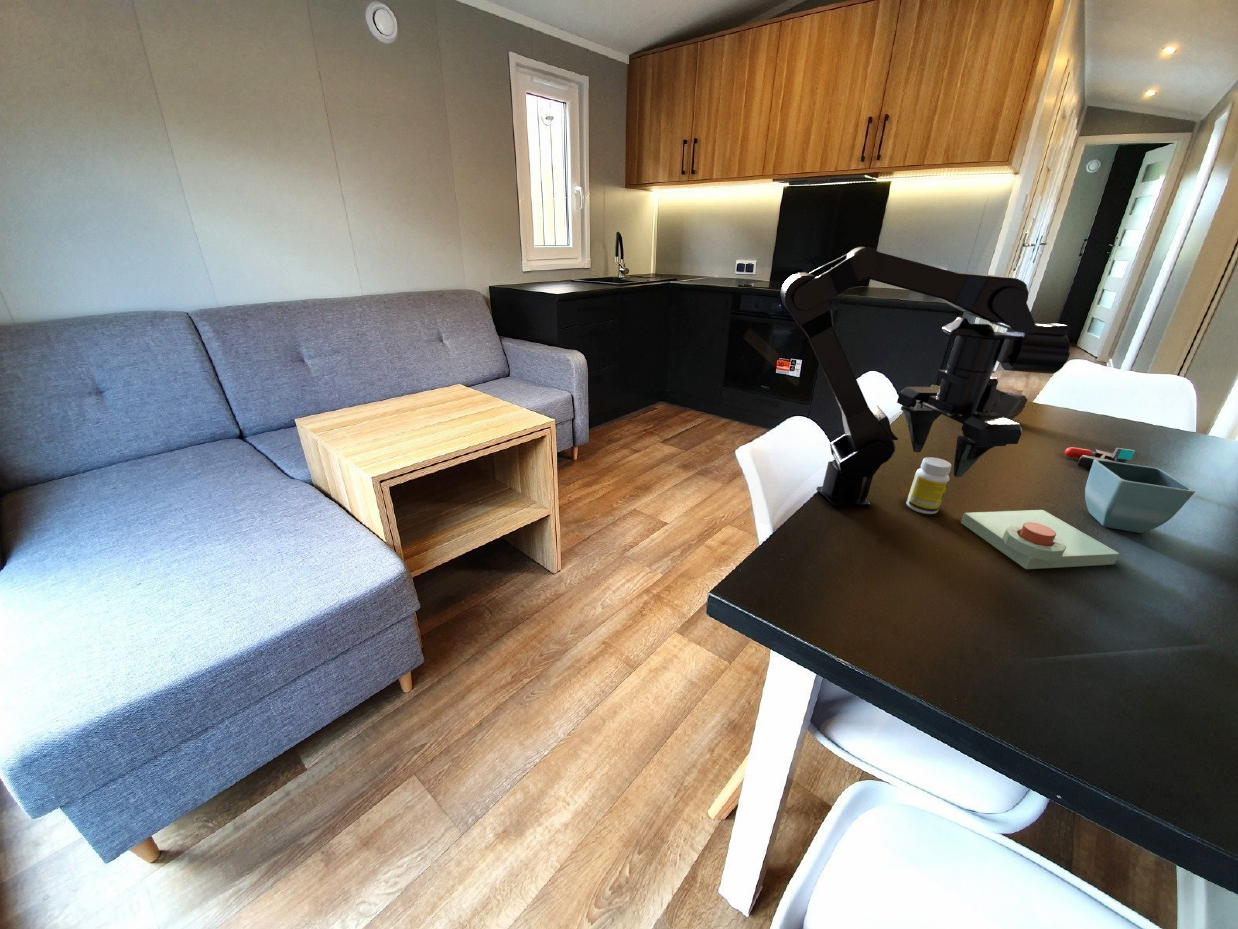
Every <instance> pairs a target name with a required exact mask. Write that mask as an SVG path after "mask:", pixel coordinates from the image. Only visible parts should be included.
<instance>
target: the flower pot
mask: <svg viewBox="0 0 1238 929" xmlns="http://www.w3.org/2000/svg"><path fill="white" fill-rule="evenodd" d="M1195 493H1196V490H1194V489H1193V488H1191V487H1190V486H1188V485H1187V484H1185V483H1183V482H1182V481H1180V480H1178V479H1177V478H1175V477H1174V476H1172V475H1171V474H1168V472H1166V471H1164V470H1163V469H1161V468H1159V467H1152V466H1147V465H1146V466H1145V465H1139V464H1131V463H1127V462H1126V463H1119V462H1112V461H1105V460H1097V459H1095V460H1094V461H1093V464H1092V467H1091V469H1090V470H1089V474H1088V478H1087V480H1086V483H1085V488H1084V499H1085V504H1086V507H1087V508H1086V509H1087V511H1088V513H1089V514H1090V515H1091V516H1092V517H1093V518H1094V519H1095V520H1096V521H1097V522H1098V523H1099V524H1100V525H1101V526H1102V527H1104V528H1108V529H1115V530H1120V531H1126V532H1131V533H1137V534H1143V533H1146V532H1149V531H1152V530H1155V529H1156V528H1158V527H1159V528H1160V526H1161V527H1162V526H1163V525H1164V524H1166V523H1167V522H1168V521H1170V520H1171V519H1172V518H1173V517H1174V516H1176V514H1177V513H1178V512H1179V511H1180V510H1181V509H1182V508H1183V507H1184V505H1185V504H1186V503H1187V502H1188V501H1189V500H1190V498H1192V496H1193V495H1194V494H1195Z"/></svg>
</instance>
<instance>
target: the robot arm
mask: <svg viewBox="0 0 1238 929" xmlns="http://www.w3.org/2000/svg"><path fill="white" fill-rule="evenodd" d="M865 279H867V280H871V281H875V282H878V283H882V284H885V285H890V286H893V287H897V288H899V289H904V290H907V291H912V292H915V293H919V294H922V295H926V296H930V297H933V298H937V299H939V301H942V302H944V303H946V304H948V305H949V306H951V307H953V308H955V309H957V310H959V311H961V312H964V313H965V314H967V315H969V316H972V317H975V318H978V319H980V320H984V321H987V322H988V323H990V324H988V323H976V322H975V323H974V322H969V320H968V318H966V317H964V316H958V317H956V319H955V320H953V321H951V322H950V323H948V324H946V325H944V326H942V327H941V332H944V333H946V334H948V335H949V336H950V335H951V336H954V337H955V336H956V337H955V339H954V342H953V346H952V349H951V352H950V354H949V358H948V360H947V364H946V366H945V369H938V370H937V373H936V377H937V378H939V379H941V382H940V385H939V388H938V389H936V388H934V387H931V386H905V387H904V388H903V389H902V390H900V391H899V394H898V397H897V401H896V403H897V404H899V405H900V411H902V413H903V415H904V419H905V422H906V425H907V429H908V433H909V438H910V441H911V442H910V443H911V447H912V450H913V452H914V453H921V452H922V450H923V448H924V446H925V444H926V442H927V439H928V436H929V434H930V432H931V429H932V427H933V424H934V422H935V421H936V420H937V419H938V418H939V417H940V416H942V415H943V416H945V417H947V418H949V419H951V420H953V421H955V422H957V423H960V424H962V425H961V432H962V435H957V436H956V445H955V454H954V460H953V476H954V477H955V478H961V477H963V476H964V475H965V474H966V472H967V471H968V470H970V468H971V467H973V465H975V463H976V462H977V461H978V460H979V459H980V458H981V457H983V455H985V454H986V453H987V452H988V451H990V450H992V449H994V448H996V447H1006V446H1007V445H1018V444H1019V441H1020V440H1021V437H1022V434H1023V431H1024V430H1023V428H1022V426H1021V424H1020V423H1018V422H1016V421H1013V420H1011V419H1007V418H1008V416H1009V415H1010V414H1011V412H1012V411H1013V410H1014V408H1015V407H1016V406H1017V404H1018V403H1019V402H1020V400H1019V399H1017V398H1015V397H1013V396H1011V395H1009V394H1007V393H1004V392H1005V391H1003V392H1002V390H1001V389H997V387H998V385H999V378H997V377H995V376H992V375H993V372H994V371H995V370H994V369H995V367H996V365H997V363H999V364H1000V365H1001V368H1002V369H1003V370H1004V371H1009V372H1021V373H1034V374H1045V375H1046V374H1047V375H1053V374H1056V373H1059V371H1060V370H1062V369H1063V367H1064V366H1065V365H1066V364H1067V361H1068V360H1069V358H1070V356H1071V352H1070V346H1071V344H1070V342H1071V341H1070V338H1069V336H1068V334H1069V330H1070V326H1069V325H1067V324H1061V323H1056V322H1055V323H1035V320H1034V318H1033V315H1032V313H1031V310H1030V308H1029V305H1028V301H1029V290H1028V284H1026V282H1025V281H1023V280H1021V279H1019V278H1017V277H1016V278H1015V277H1009V276H1004V275H1003V276H1002V275H996V274H986V273H985V274H983V273H972V272H971V273H970V272H957V271H952V270H947V269H944V268H940V267H937V266H934V265H929V264H926V263H921V262H918V261H914V260H910V259H907V258H903V257H901V256H900V257H899V256H896V255H892V254H889V253H885V252H880V251H878V250H877V249H875V248H873V247H869V246H868V247H866V246H857V247H855V248H853V249H851V250H850V251H849V252H848V253H845V254H843V255H842V256H841V257H838V258H836V259H834V260H832V261H830V262H827V263H826V264H823V265H822V266H819V267H818V268H816V269H814V270H812V271H810V272H809V273H808V272H805V271H803V272H797V273H795V274H792V275H790V276H789V277H788V278H787V279H786V280H785V281H784V283H783V284H782V287H781V289H780V299H781V303H782V304H783V306H784V308H785V309H786V310H787V311H788V313H789V314H790V316H791V317H792V318H793V320H794V321H795V322H796V323H797V325H798V326H799V328H800V329H801V331H802V332H803V333H804V335H805V336H806V338H807V339H808V342H809V344H810V346H811V348H812V350H813V353H814V355H815V357H816V359H817V361H818V364H819V365H820V368H821V370H822V372H823V374H824V376H825V379H826V381H827V383H828V385H829V387H830V389H831V392H832V393H833V396H834V398H835V400H836V402H837V404H838V406H839V409H840V412H841V416H842V425H843V430H844V433H843V434H842V435H841V436H840V437H837V438H836V439H835V440H833V441H831V442H830V443H829V448H830V453H831V455H832V457H833V460H832V461H831V460H829V461H827V466H826V471H825V474H824V478H823V482H822V486H816V488H815V489H816V491H817V492H818V493H819V494H820V495H821V496H822V497H823V498H824V499H825V500H826V501H827V502H828V503H829V504H830V505H831V506H832V507H834V508H854V507H870V505H871V502H870V501H869V500H868V499H867V498H868V496H869V492H870V488H871V485H872V483H873V482H872V481H873V479H874V475H875V474H876V473H877V472H878V470H879V469H880V467H881V466H882V465H884V464H886V463H887V462H888V461H890V459H892V457H893V455H894V453H896V443H895V441H898V440H899V438H898V437H897V435H896V434H895V433H894V432H893V431H892V427H891V423H890V419H889V417H888V415H886V413H885V412H884V411H883V410H882V409H881V408H880V406H879V405H875V406H873V407H872V408H870V407H869V405H868V403H867V401H866V398H865V396H864V393H863V391H862V389H861V387H860V384H859V382H858V380H857V378H856V376H855V373H854V371H853V369H852V366H851V364H850V361H849V360H848V357H847V355H846V353H845V351H844V348H843V345H842V343H841V342H840V340H839V336H838V335H837V333H836V330H835V326H834V320H833V319H834V318H833V311H832V305H831V301H830V300H831V299H833V298H835V297H837V296H839V295H840V294H842V293H844V292H845V291H847V290H848V289H849V288H851V287H853V286H854V285H856V284H857V283H859V282H861V281H862V280H865ZM992 325H994V326H998V327H1000V328H1004V329H1006V331H995V330H994V328H993V326H992ZM977 412H981V413H990V412H995V413H998V414H1000V415H1001V416H1002V417H1001V416H980V415H976V414H977Z"/></svg>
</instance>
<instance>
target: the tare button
mask: <svg viewBox="0 0 1238 929" xmlns="http://www.w3.org/2000/svg"><path fill="white" fill-rule="evenodd" d="M1019 536H1020V537H1022V538H1023V539H1025V540H1026V541H1029V542H1031V543H1034V544H1037V545H1042V546H1050V545H1051V544H1052V542H1053V540H1054V538H1055V536H1056V532H1055V531H1054V530H1052V529H1051V528H1049V527H1047V526H1045V525H1042V524H1038V523H1033V522H1026V523H1024V524H1023V526H1022V529H1021V531H1020V533H1019Z"/></svg>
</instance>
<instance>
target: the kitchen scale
mask: <svg viewBox="0 0 1238 929" xmlns="http://www.w3.org/2000/svg"><path fill="white" fill-rule="evenodd" d="M1026 522H1033V523H1038V524H1042V525H1045V526H1047V527H1049V528H1051V529H1052V530H1054V531H1055V532H1056V536H1055V538H1054V540H1053V542H1052V544H1051V545H1050V546H1042V545H1037V544H1034V543H1031V542H1029V541H1026V540H1025V539H1023V538H1022V537H1020V536H1019V533H1020V531H1021V529H1022V526H1023V524H1024V523H1026ZM960 523H961V524H962V525H963V526H965V527H966V528H967V529H969V530H970V531H972V532H973V533H975V534H976V535H977V536H979V537H980V538H981V539H983V540H984V541H985V542H987V543H988V544H990V545H991V546H993V547H994V548H995V549H996V550H998V551H1000V552H1001V553H1002V554H1004V555H1005V556H1007V557H1008V558H1009V559H1011V560H1012V561H1014V562H1015V563H1016V564H1017V565H1019V566H1020V567H1022V568H1024V569H1025V570H1036V569H1039V570H1040V569H1053V568H1074V567H1091V566H1106V565H1108V566H1109V565H1111V566H1112V565H1115V564H1116V562H1117V560H1118V558H1119V556H1120V555H1121V554H1120V552H1118V551H1116V550H1114V549H1113V548H1111V547H1110V546H1107V545H1106V544H1104V543H1102V542H1100V541H1098V540H1097V539H1095V538H1093V537H1092V536H1090V535H1088V534H1086V533H1084V532H1083V531H1081V530H1079V529H1078V528H1075V527H1074V526H1072V525H1071V524H1068V523H1067V522H1065V521H1063V520H1062V519H1060V518H1058V517H1056V516H1055V515H1053V514H1051V513H1050V512H1048V511H1046V510H1044V509H1030V510H1029V509H1027V510H1004V511H1003V510H1002V511H1001V510H1000V511H976V512H964V513H963V515H962V518H961V520H960Z"/></svg>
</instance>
